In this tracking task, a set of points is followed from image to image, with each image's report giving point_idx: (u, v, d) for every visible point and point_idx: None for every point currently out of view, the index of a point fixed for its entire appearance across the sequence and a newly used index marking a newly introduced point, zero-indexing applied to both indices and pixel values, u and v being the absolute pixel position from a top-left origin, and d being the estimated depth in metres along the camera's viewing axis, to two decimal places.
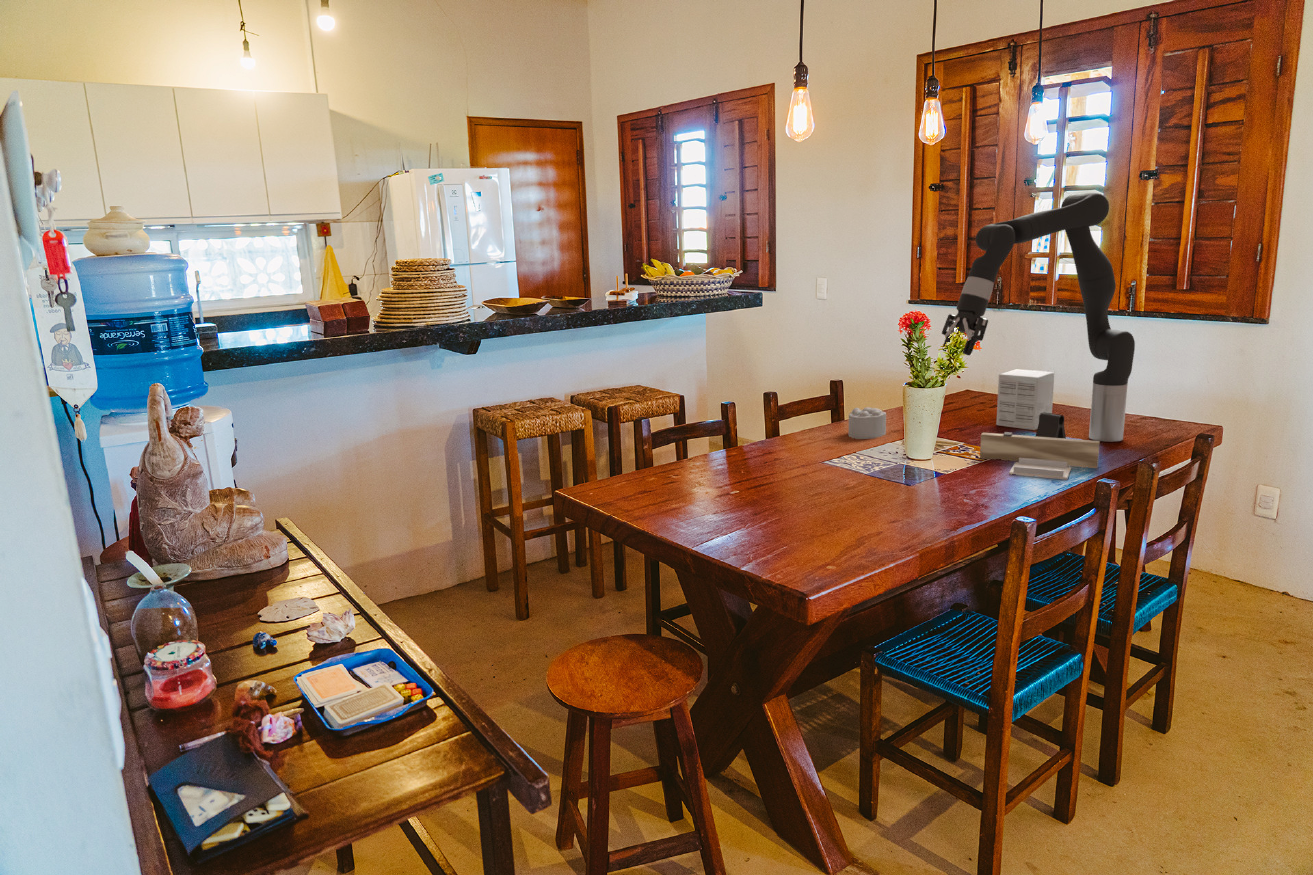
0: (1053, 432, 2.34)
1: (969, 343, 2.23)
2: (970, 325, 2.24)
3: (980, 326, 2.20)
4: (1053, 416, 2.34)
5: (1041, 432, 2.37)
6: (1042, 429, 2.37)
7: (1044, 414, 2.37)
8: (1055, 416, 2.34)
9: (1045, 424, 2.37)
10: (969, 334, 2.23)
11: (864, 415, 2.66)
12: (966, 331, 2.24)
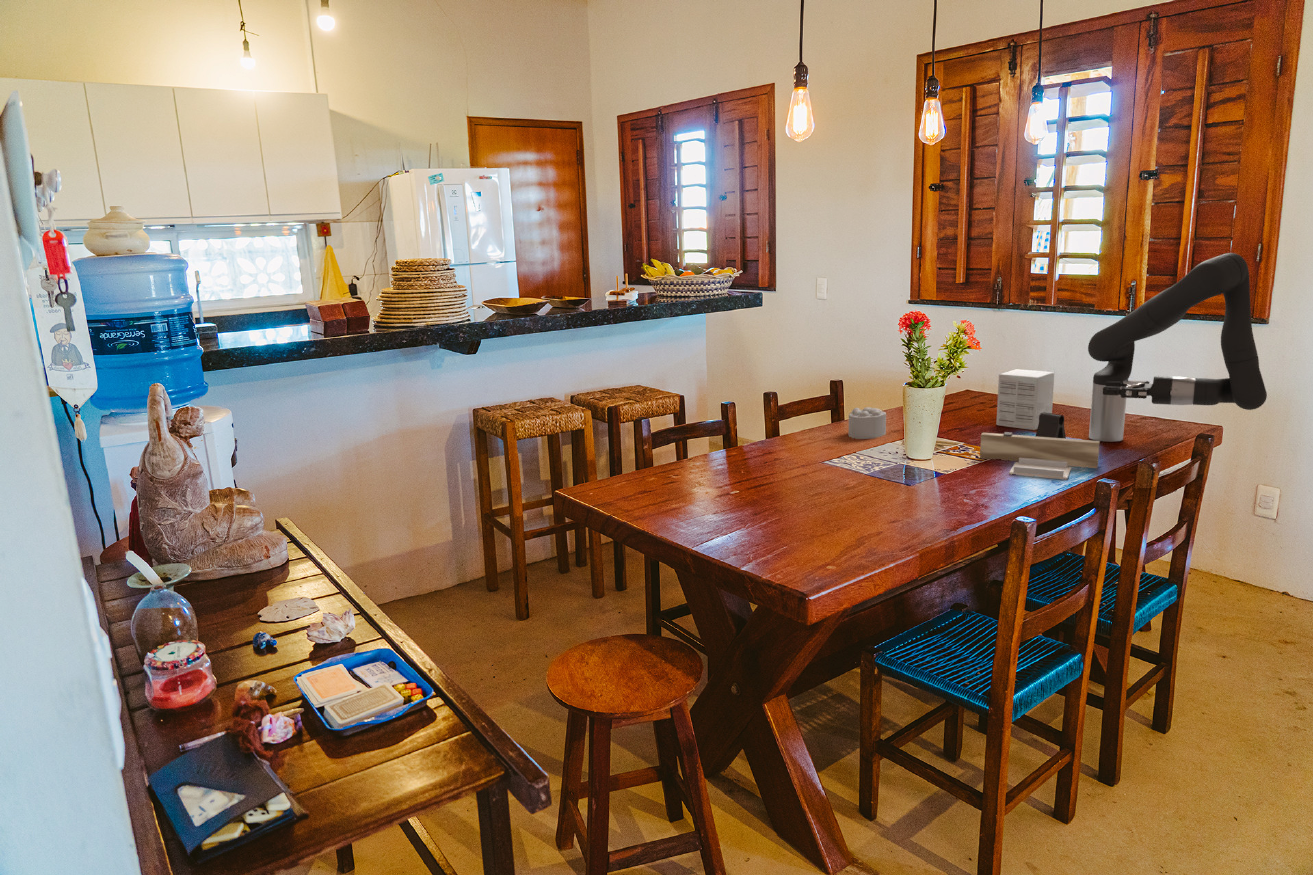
0: (1053, 432, 2.34)
1: None
2: None
3: None
4: (1053, 416, 2.34)
5: (1041, 432, 2.37)
6: (1042, 429, 2.37)
7: (1044, 414, 2.37)
8: (1055, 416, 2.34)
9: (1045, 424, 2.37)
10: None
11: (864, 415, 2.66)
12: None
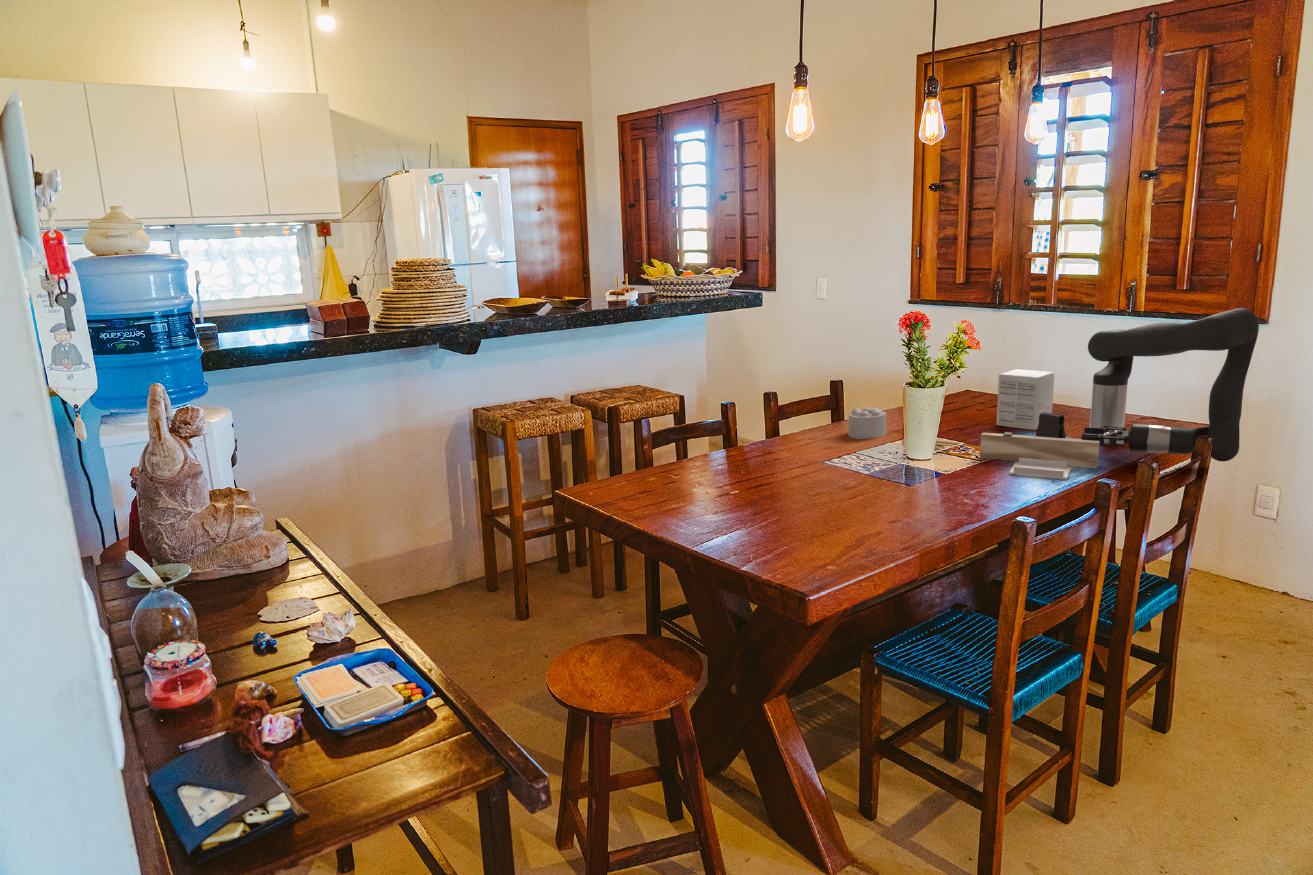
0: (1053, 432, 2.34)
1: None
2: None
3: None
4: (1053, 416, 2.34)
5: (1041, 432, 2.37)
6: (1042, 429, 2.37)
7: (1044, 414, 2.37)
8: (1055, 416, 2.34)
9: (1045, 424, 2.37)
10: None
11: (864, 415, 2.66)
12: None
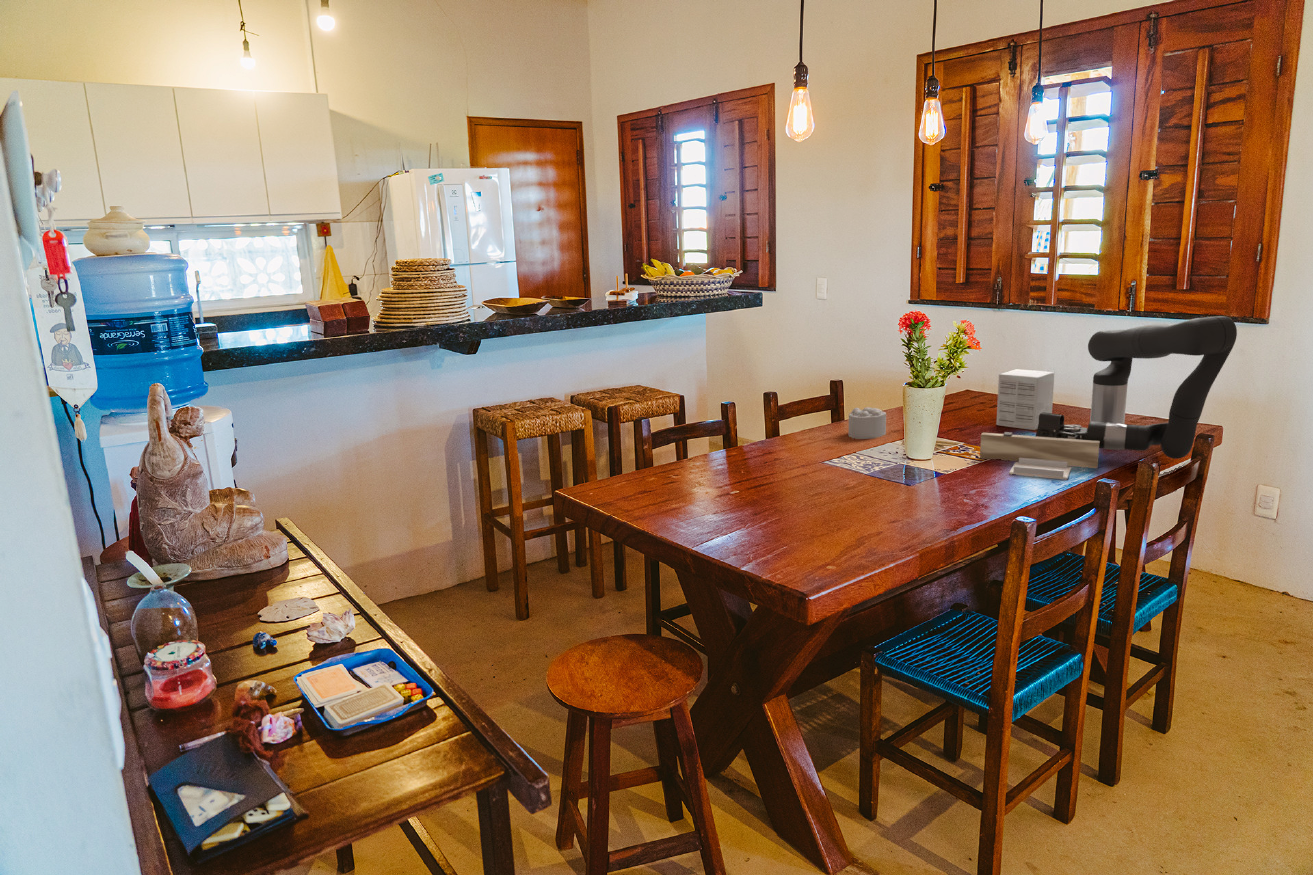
0: None
1: None
2: None
3: None
4: (1053, 416, 2.34)
5: None
6: None
7: (1044, 414, 2.37)
8: (1055, 416, 2.34)
9: (1045, 424, 2.36)
10: None
11: (864, 415, 2.66)
12: None
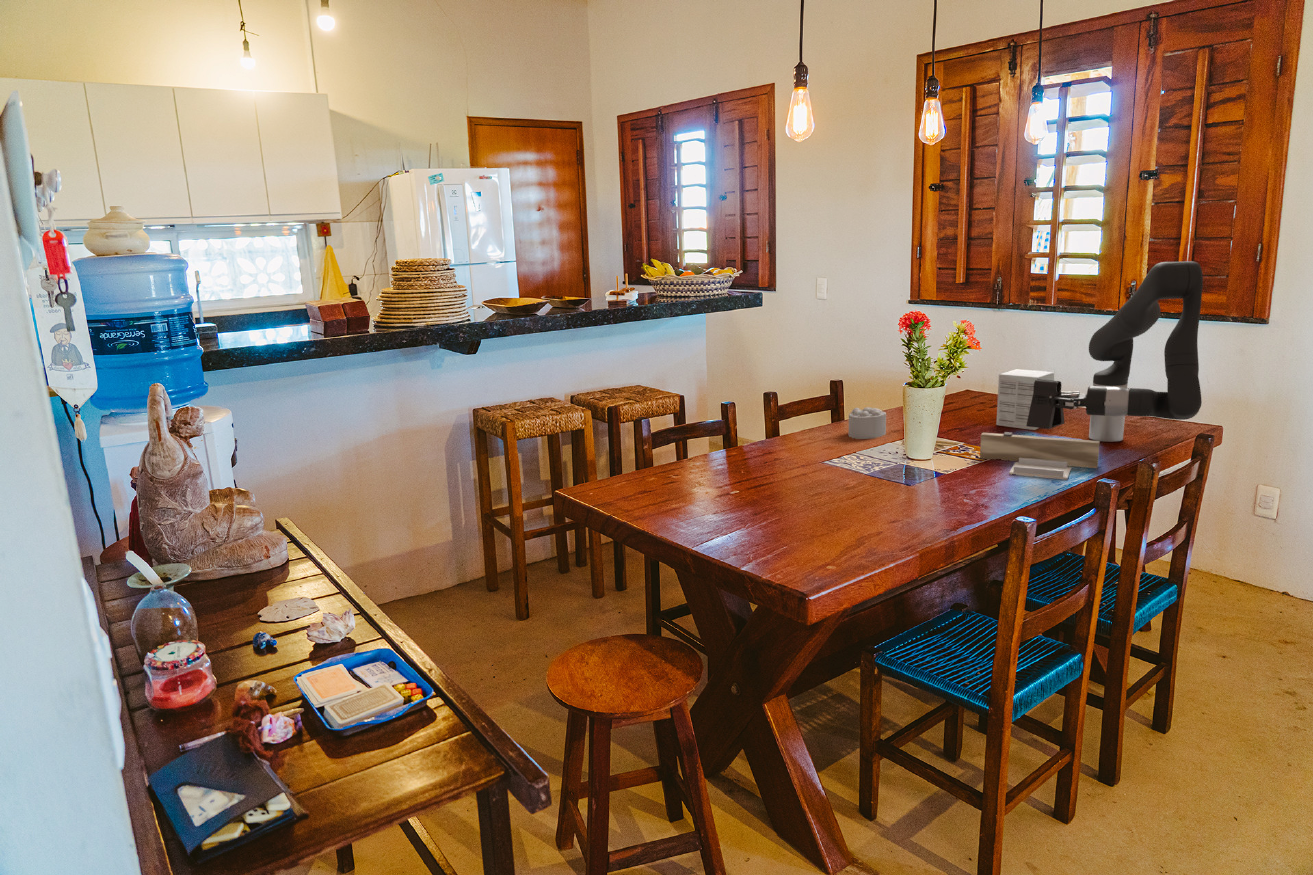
0: None
1: None
2: None
3: None
4: (1050, 382, 2.15)
5: None
6: None
7: (1039, 381, 2.18)
8: (1052, 383, 2.15)
9: (1041, 392, 2.17)
10: None
11: (864, 415, 2.66)
12: None
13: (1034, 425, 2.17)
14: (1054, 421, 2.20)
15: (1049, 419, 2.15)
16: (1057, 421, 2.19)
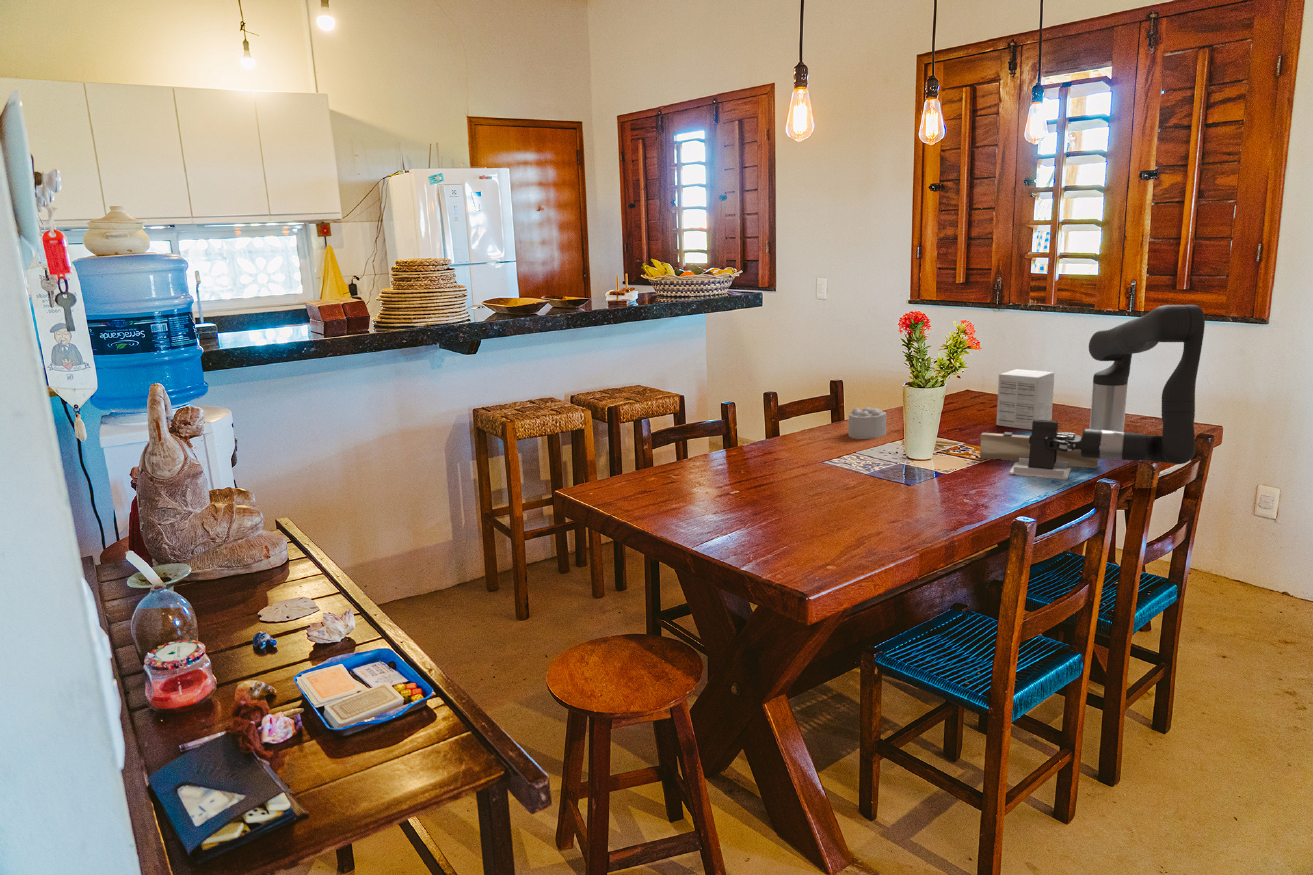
0: None
1: None
2: None
3: None
4: (1049, 423, 2.17)
5: (1037, 441, 2.19)
6: (1037, 438, 2.19)
7: (1038, 422, 2.19)
8: (1052, 423, 2.17)
9: (1040, 432, 2.18)
10: None
11: (864, 415, 2.66)
12: None
13: (1036, 466, 2.18)
14: None
15: (1052, 459, 2.16)
16: None
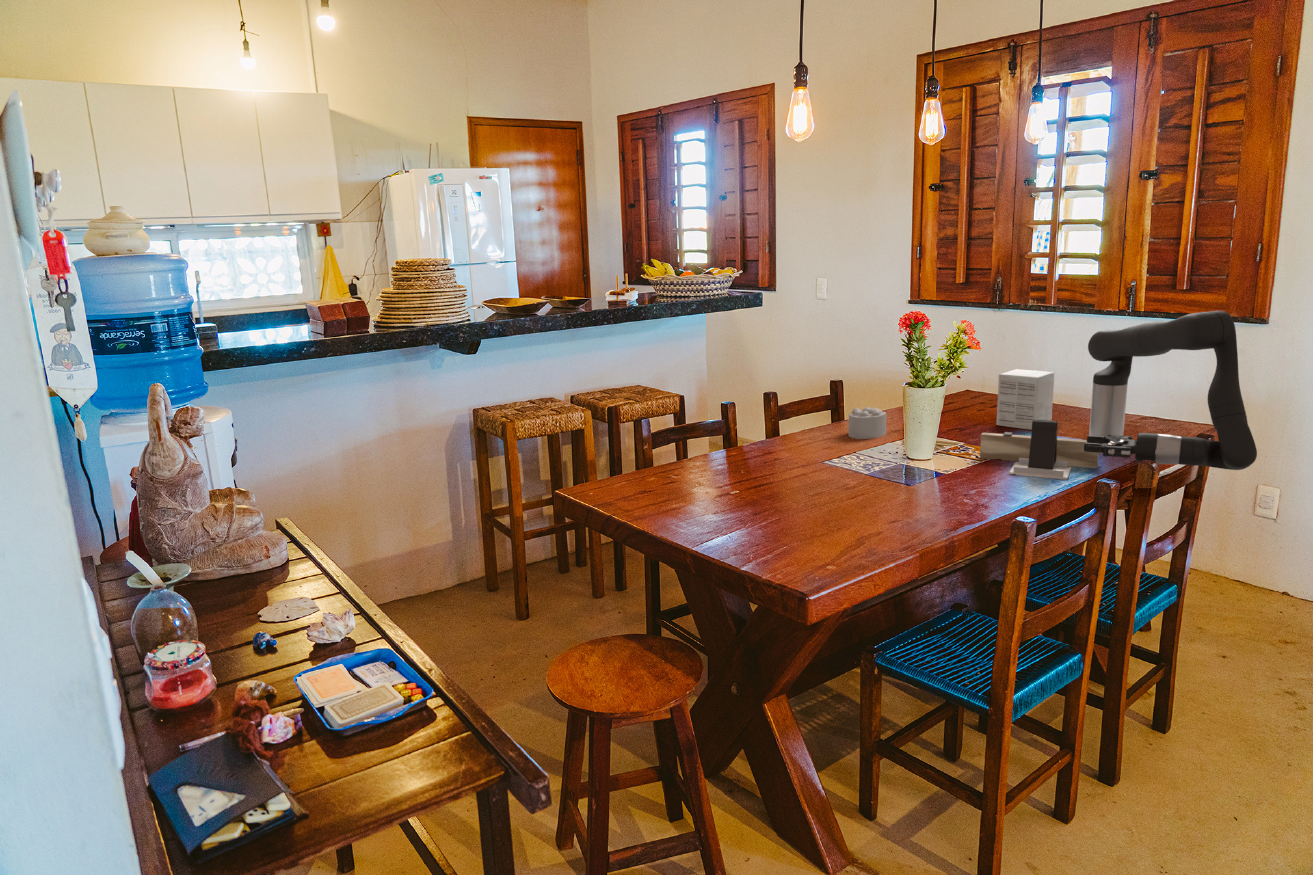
0: (1052, 440, 2.17)
1: None
2: None
3: None
4: (1049, 423, 2.17)
5: (1037, 441, 2.19)
6: (1037, 438, 2.19)
7: (1037, 422, 2.19)
8: (1051, 423, 2.17)
9: (1039, 432, 2.19)
10: None
11: (864, 415, 2.66)
12: None
13: (1036, 466, 2.18)
14: None
15: (1052, 459, 2.16)
16: None
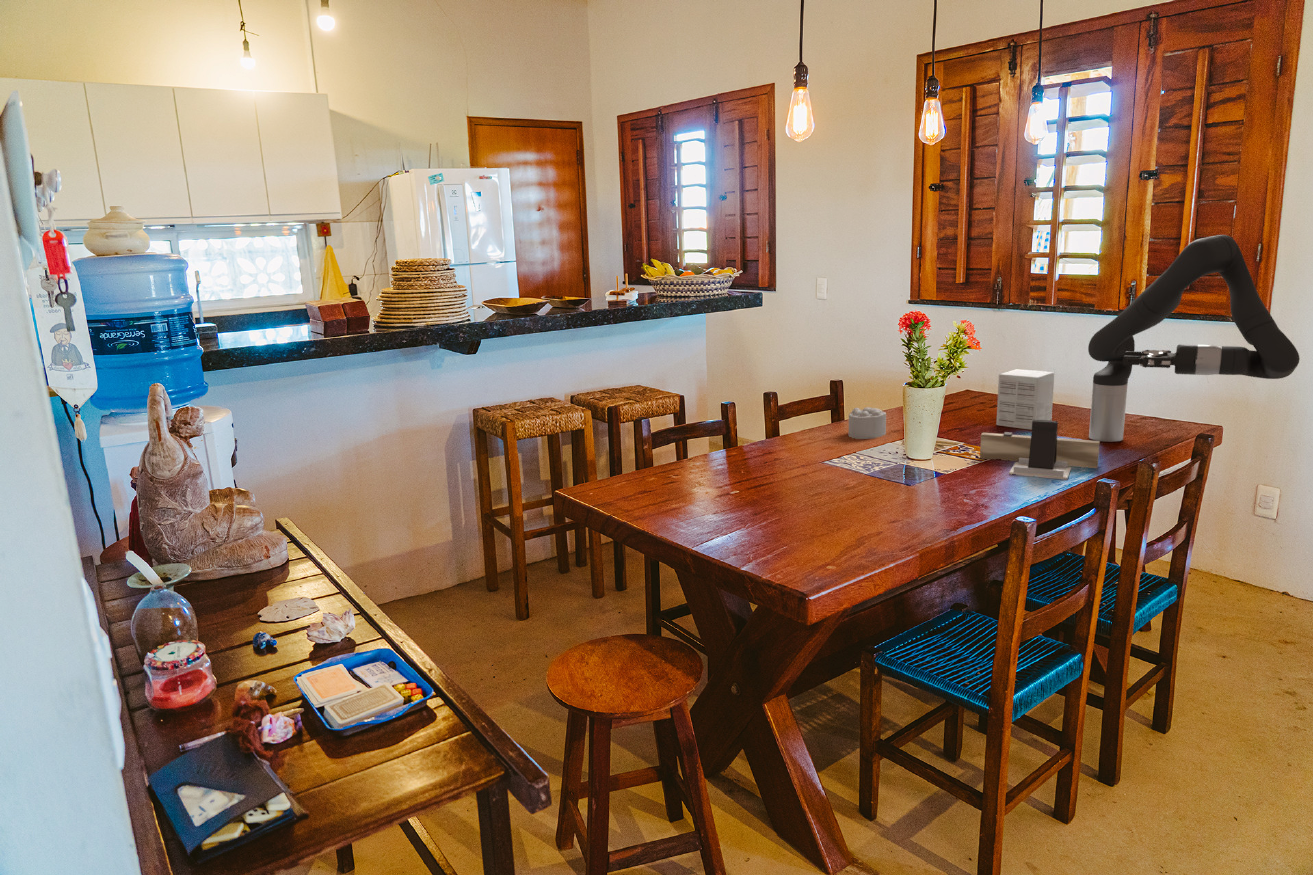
0: (1052, 440, 2.17)
1: None
2: None
3: None
4: (1049, 423, 2.17)
5: (1037, 441, 2.19)
6: (1037, 438, 2.19)
7: (1037, 422, 2.19)
8: (1051, 423, 2.17)
9: (1039, 432, 2.19)
10: None
11: (864, 415, 2.66)
12: None
13: (1036, 466, 2.18)
14: None
15: (1052, 459, 2.16)
16: None
